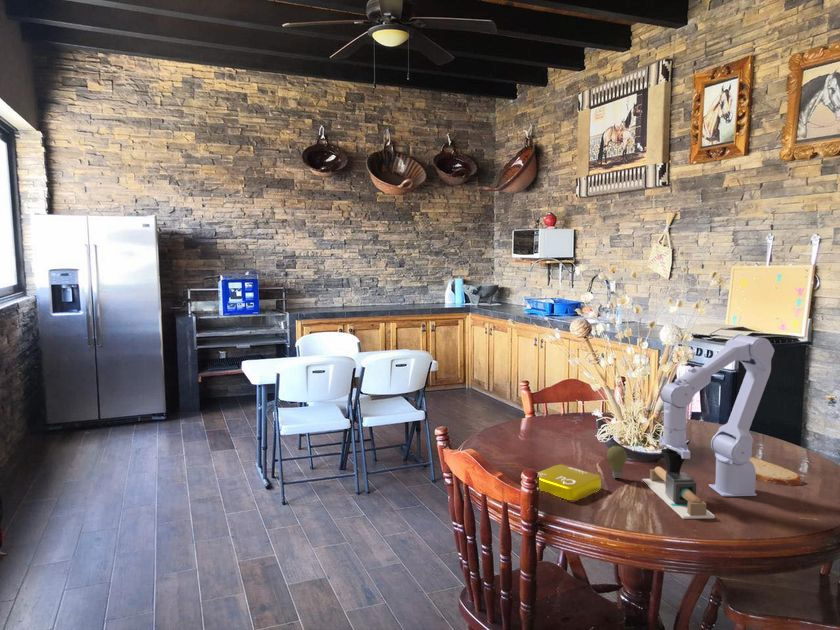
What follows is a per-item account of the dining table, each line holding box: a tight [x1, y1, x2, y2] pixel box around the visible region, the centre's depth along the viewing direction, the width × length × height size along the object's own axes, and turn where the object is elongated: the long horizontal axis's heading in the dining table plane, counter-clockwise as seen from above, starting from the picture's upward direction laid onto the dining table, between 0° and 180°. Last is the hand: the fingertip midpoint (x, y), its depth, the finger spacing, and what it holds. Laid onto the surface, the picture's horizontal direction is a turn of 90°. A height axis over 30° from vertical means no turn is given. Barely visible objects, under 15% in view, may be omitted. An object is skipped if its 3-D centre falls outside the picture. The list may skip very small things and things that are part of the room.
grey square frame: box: [673, 481, 697, 504], centre depth 155 cm, size 1×5×5 cm, turn 91°
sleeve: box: [665, 471, 695, 500], centre depth 158 cm, size 5×5×6 cm
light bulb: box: [606, 445, 628, 479], centre depth 175 cm, size 6×6×10 cm
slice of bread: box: [749, 456, 803, 487], centre depth 178 cm, size 18×18×4 cm
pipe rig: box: [642, 466, 716, 520], centre depth 160 cm, size 26×8×5 cm, turn 1°
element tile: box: [537, 463, 602, 500], centre depth 168 cm, size 15×15×5 cm
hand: (673, 475), depth 161 cm, fingers closed
